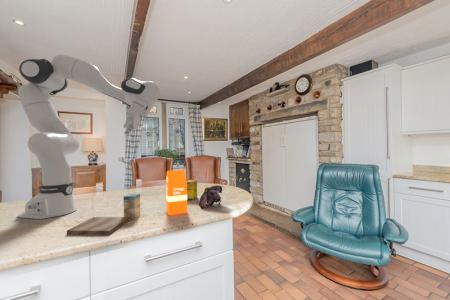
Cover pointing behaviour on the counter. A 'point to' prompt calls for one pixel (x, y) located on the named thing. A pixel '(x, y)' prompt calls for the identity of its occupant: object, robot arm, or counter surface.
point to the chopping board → (98, 226)
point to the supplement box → (191, 189)
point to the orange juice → (176, 192)
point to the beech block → (132, 206)
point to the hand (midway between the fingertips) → (125, 131)
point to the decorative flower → (210, 196)
